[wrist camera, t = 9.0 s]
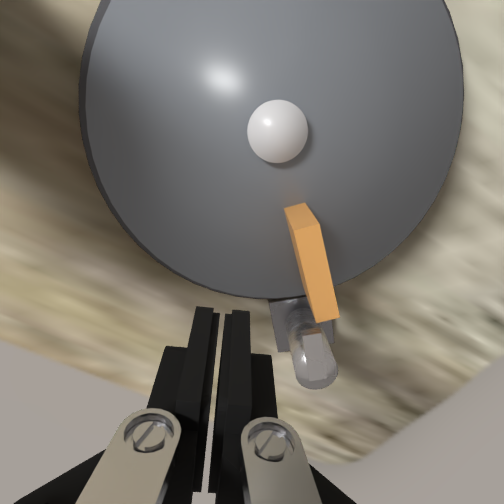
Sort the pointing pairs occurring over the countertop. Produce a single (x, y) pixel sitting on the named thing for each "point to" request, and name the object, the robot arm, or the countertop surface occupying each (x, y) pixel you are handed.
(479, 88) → the countertop surface
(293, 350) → the capsule on square base
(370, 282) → the countertop surface
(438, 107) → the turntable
